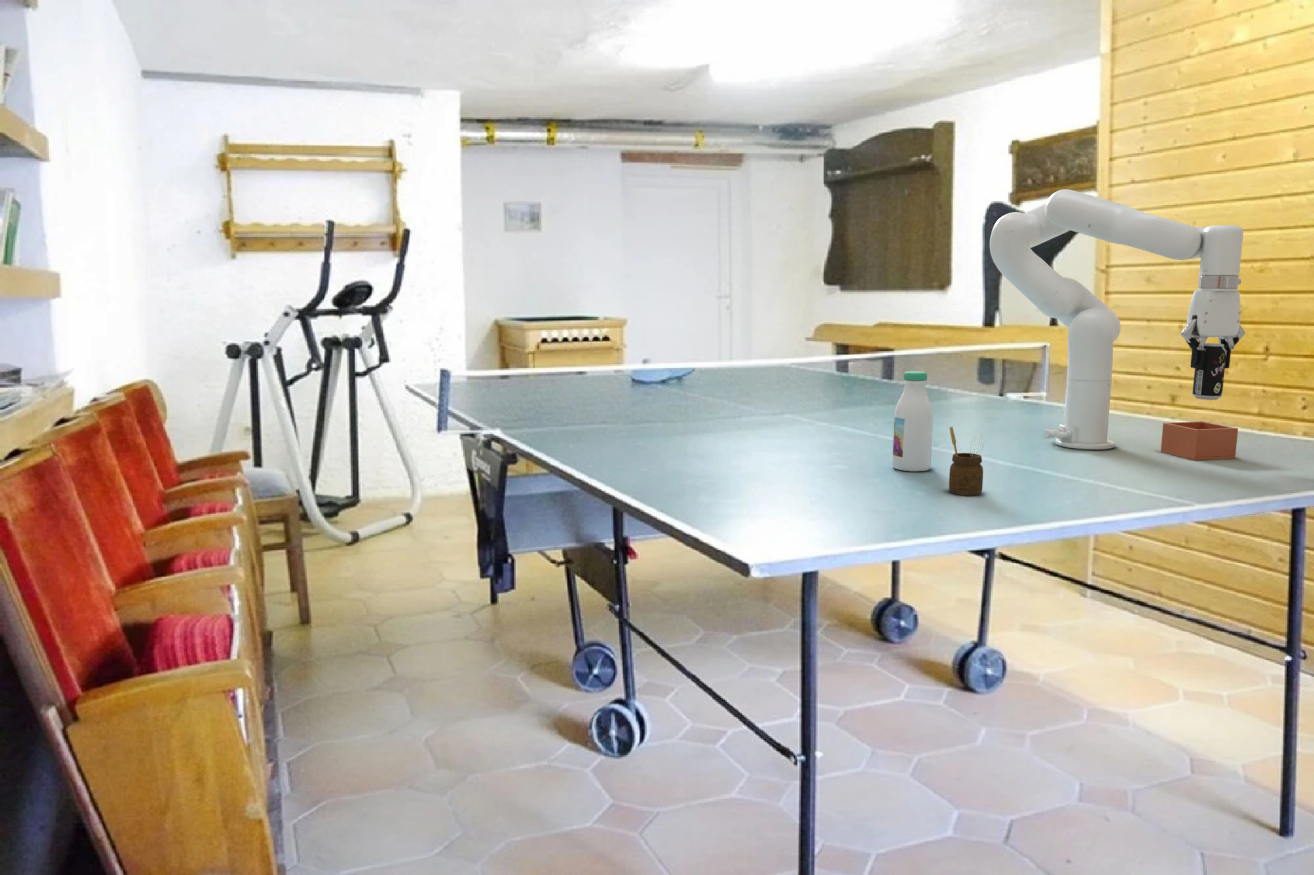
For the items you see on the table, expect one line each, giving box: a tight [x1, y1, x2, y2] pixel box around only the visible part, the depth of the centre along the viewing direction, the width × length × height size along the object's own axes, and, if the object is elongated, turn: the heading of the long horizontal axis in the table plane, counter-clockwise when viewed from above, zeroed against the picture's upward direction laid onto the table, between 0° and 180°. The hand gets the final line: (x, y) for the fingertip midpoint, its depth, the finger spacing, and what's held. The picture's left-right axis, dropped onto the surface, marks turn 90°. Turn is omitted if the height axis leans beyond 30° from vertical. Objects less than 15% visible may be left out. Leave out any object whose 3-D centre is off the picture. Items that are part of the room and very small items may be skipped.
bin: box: [1160, 420, 1239, 461], centre depth 224 cm, size 10×10×7 cm
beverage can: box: [1191, 342, 1226, 401], centre depth 220 cm, size 6×6×12 cm
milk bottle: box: [891, 370, 934, 472], centre depth 207 cm, size 8×8×20 cm
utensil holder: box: [948, 426, 986, 496], centre depth 186 cm, size 6×6×12 cm
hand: (1209, 367), depth 220 cm, fingers closed on beverage can, 5 cm apart
